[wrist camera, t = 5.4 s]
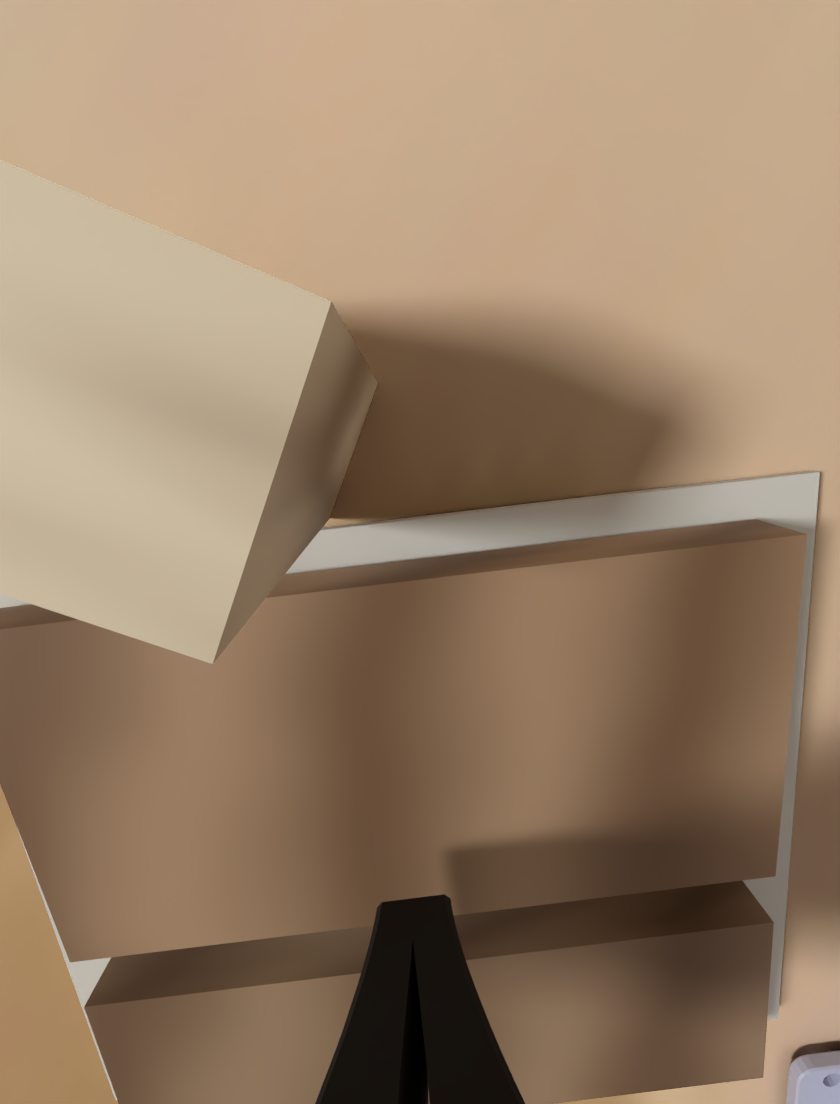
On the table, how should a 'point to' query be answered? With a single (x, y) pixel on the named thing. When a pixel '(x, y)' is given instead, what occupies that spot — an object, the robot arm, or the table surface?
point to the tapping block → (159, 421)
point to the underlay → (570, 520)
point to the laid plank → (502, 985)
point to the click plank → (412, 741)
